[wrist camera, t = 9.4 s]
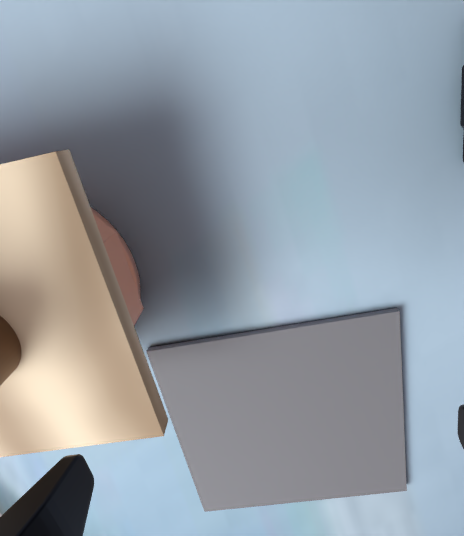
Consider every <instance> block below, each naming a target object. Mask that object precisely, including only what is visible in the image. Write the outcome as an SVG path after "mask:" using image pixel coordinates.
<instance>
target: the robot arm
mask: <svg viewBox="0 0 464 536" xmlns="http://www.w3.org/2000/svg"><path fill="white" fill-rule="evenodd" d="M461 126H462V127H463V128H464V65H463V67H462V90H461ZM463 162H464V137H463ZM458 436H459V440H460V442H461V445H462V447H463V449H464V405H461V406H460V407H459V410H458ZM93 487H94V478H93V474H92V473H91V471H90V469H89V467H88V465H87V463H86V461H85V459H84V457H83V456H82V455H80V454H77V455H69V456H65V457H63V458H62V459H61V460H60V461H59V462H58V463H57V464H56V465H55V466H54V467H52V468H51V469H50V470H49V471H48V472H47V473H46V474H45V475H44V476H43V477H42V478H41V479H40V480H39V481H38V482H37V483H36V484H35V485H34V486H33V487H31V488H30V489H29V490H28V491H27V492H26V493H25V494H24V495H23V496H22V497H21V498H20V499H19V500H18V501H17V502H16V503H15V504H14V505H13V506H12V507H10V508H9V509H8V510H7V511H6V512H5V513H4V514H3V515H2V516H1V517H0V536H83V532H84V528H85V523H86V519H87V514H88V510H89V505H90V501H91V496H92V492H93Z"/></svg>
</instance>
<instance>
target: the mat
mask: <svg viewBox="0 0 464 536" xmlns="http://www.w3.org/2000/svg"><path fill="white" fill-rule="evenodd" d="M147 354H148V357H149V360H150V363H151V365H152V368H153V371H154V374H155V376H156V379H157V382H158V385H159V387H160V390H161V393H162V396H163V398H164V401H165V404H166V407H167V409H168V412H169V415H170V418H171V420H172V423H173V426H174V429H175V431H176V434H177V437H178V440H179V442H180V445H181V448H182V451H183V453H184V456H185V459H186V462H187V464H188V467H189V470H190V473H191V475H192V478H193V481H194V484H195V486H196V489H197V492H198V495H199V497H200V500H201V503H202V506H203V508H204V511H205V512H206V511H216V510H225V509H235V508H245V507H254V506H264V505H274V504H283V503H293V502H302V501H312V500H322V499H331V498H341V497H351V496H360V495H370V494H380V493H389V492H399V491H407V487H406V461H405V436H404V410H403V384H402V359H401V333H400V311H399V310H398V309H397V308H392V309H386V310H380V311H374V312H368V313H361V314H355V315H349V316H343V317H337V318H330V319H324V320H318V321H312V322H306V323H299V324H293V325H287V326H281V327H274V328H268V329H262V330H256V331H250V332H243V333H237V334H231V335H225V336H219V337H212V338H206V339H200V340H194V341H188V342H181V343H175V344H169V345H163V346H157V347H150V348H148V349H147Z"/></svg>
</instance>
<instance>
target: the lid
mask: <svg viewBox="0 0 464 536" xmlns="http://www.w3.org/2000/svg"><path fill="white" fill-rule="evenodd" d="M167 422H168V418H167V415H166V412H165V410H164V407H163V404H162V401H161V399H160V396H159V393H158V390H157V388H156V385H155V382H154V380H153V377H152V374H151V371H150V369H149V366H148V363H147V360H146V358H145V355H144V352H143V349H142V347H141V344H140V341H139V339H138V336H137V333H136V330H135V328H134V325H133V322H132V319H131V317H130V314H129V311H128V308H127V306H126V303H125V300H124V298H123V295H122V292H121V289H120V287H119V284H118V281H117V278H116V276H115V273H114V270H113V267H112V265H111V262H110V259H109V257H108V254H107V251H106V248H105V246H104V243H103V240H102V237H101V235H100V232H99V229H98V227H97V224H96V221H95V218H94V216H93V213H92V210H91V207H90V205H89V202H88V199H87V196H86V194H85V191H84V188H83V186H82V183H81V180H80V177H79V175H78V172H77V169H76V166H75V164H74V161H73V158H72V155H71V153H70V150H69V149H68V150H62V151H55V152H51V153H47V154H43V155H38V156H34V157H30V158H25V159H21V160H17V161H13V162H8V163H4V164H0V457H5V456H13V455H21V454H28V453H36V452H44V451H52V450H59V449H67V448H75V447H82V446H90V445H98V444H106V443H113V442H121V441H129V440H137V439H144V438H152V437H160V436H164V433H165V429H166V426H167Z"/></svg>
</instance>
